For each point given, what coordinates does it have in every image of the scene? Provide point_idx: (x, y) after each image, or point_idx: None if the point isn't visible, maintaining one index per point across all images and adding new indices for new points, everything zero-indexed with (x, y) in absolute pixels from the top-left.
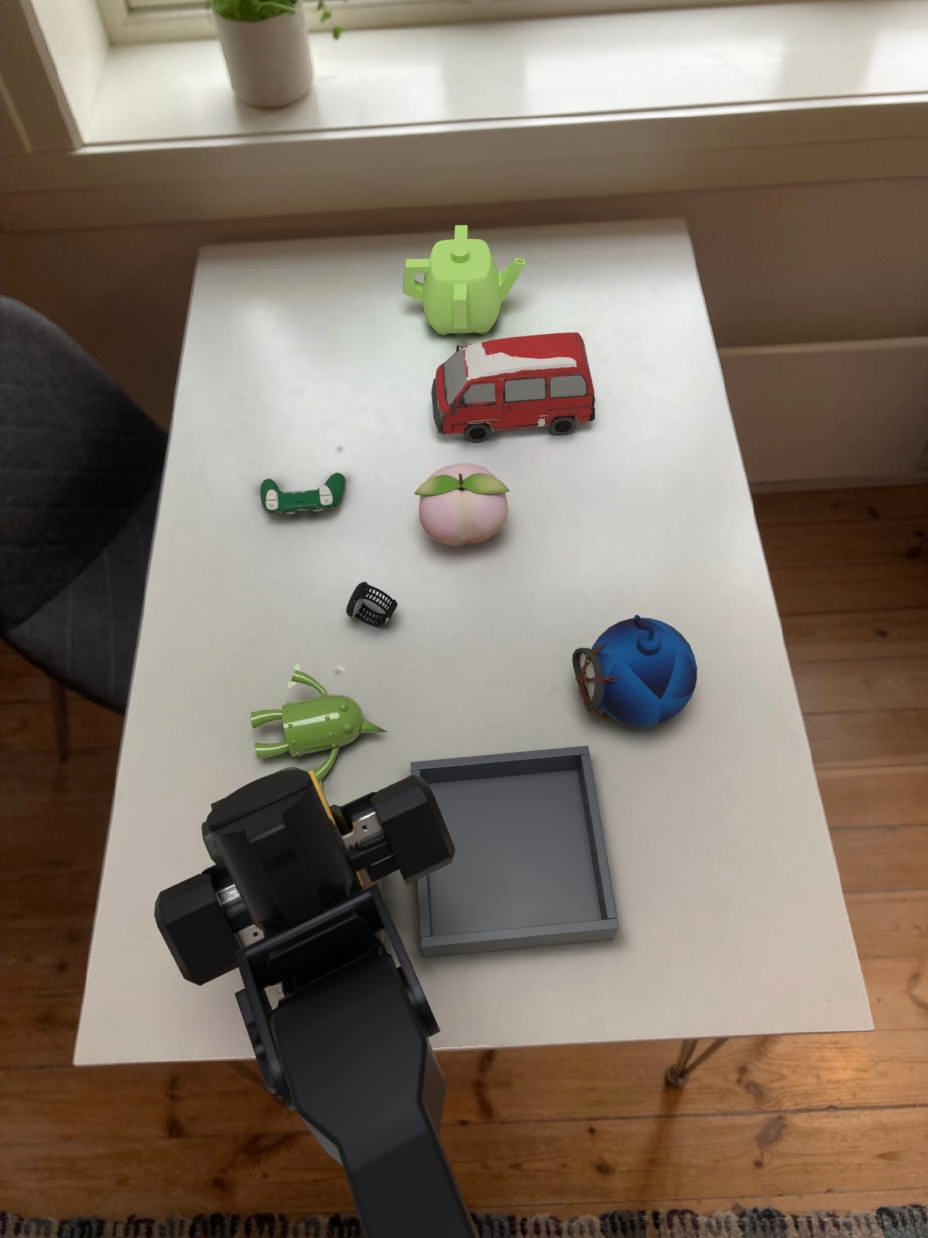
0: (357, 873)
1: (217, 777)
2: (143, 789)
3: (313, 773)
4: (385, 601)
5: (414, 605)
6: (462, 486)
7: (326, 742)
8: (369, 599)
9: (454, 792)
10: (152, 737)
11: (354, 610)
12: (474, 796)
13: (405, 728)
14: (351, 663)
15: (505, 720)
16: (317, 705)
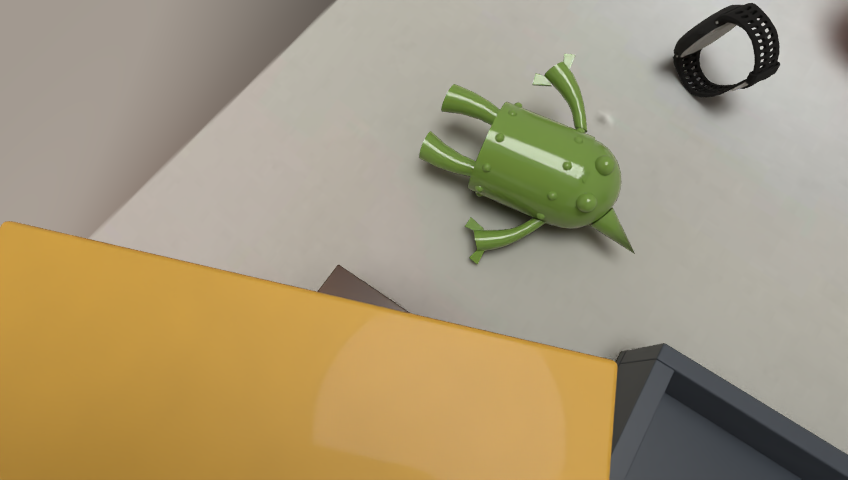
0: None
1: (355, 147)
2: (263, 100)
3: (614, 396)
4: (768, 52)
5: (766, 101)
6: None
7: (534, 203)
8: (749, 30)
9: (679, 428)
10: (319, 48)
11: (696, 43)
12: (712, 463)
13: (652, 263)
14: (627, 121)
15: (828, 367)
16: (563, 135)
